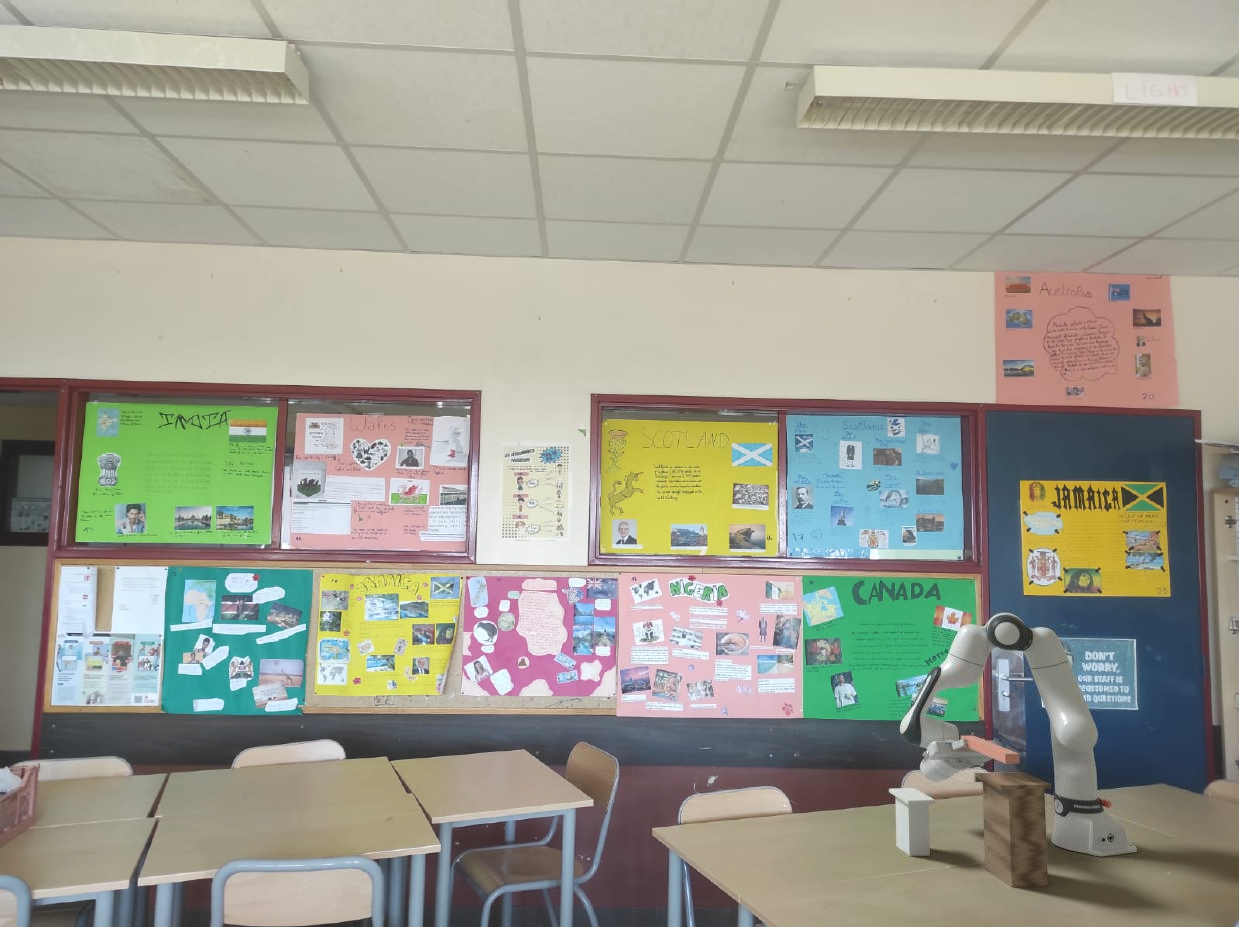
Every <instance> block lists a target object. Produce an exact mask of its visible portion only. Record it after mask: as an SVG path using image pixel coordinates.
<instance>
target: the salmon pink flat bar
mask: <svg viewBox="0 0 1239 927" xmlns="http://www.w3.org/2000/svg"><path fill="white" fill-rule="evenodd" d="M961 739H967V742H968V745H967V746H966V747H968V748H970V749H973V750H975V751H977V752H980V753H982V754H984V755H987V756H989V757H991V758H992V759H993V760H996V761H998V762H1000V763H1003V764H1005V765H1007V764H1009V765H1010V764H1011V765H1012V764H1021V762H1020V753H1018V752H1015V751H1014V750H1011V749H1009V748H1006V747H1003V746H1001V745H998V744H997V743H996V744H997V745H996V744H993V743H991V742H988V741H989V740H983V739H984V738H981V737H978V736H976V735H962V736H961Z"/></svg>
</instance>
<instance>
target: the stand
mask: <svg viewBox="0 0 1239 927" xmlns="http://www.w3.org/2000/svg"><path fill="white" fill-rule="evenodd" d="M888 793H890V795H893V796H895V797H894V798H895V845H896V846H895V847H897V848H899V849H900V850H901V851H902V852H904V854H906V855H908V856H909V857H918V856H926V857H927V856H930V855H931V854H930V853H931V850H930V817H929V816H930V810H929V809H930V808H929V806H930V805H936V799H934V798H932V797H931V796H929V795H927V794H925V793H924V792H922V791H920V790H919V789H917V788H916V787H911V788H908V787H906V788H904V787H903V788H902V787H901V788H900V787H899V788H888Z"/></svg>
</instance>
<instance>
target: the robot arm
mask: <svg viewBox="0 0 1239 927" xmlns="http://www.w3.org/2000/svg"><path fill="white" fill-rule="evenodd" d="M996 648H998V649H1001V650H1003V651H1004V650H1005V651H1010V652H1011V651H1014V652H1016V651H1017V652H1022V653H1023V654H1024V656H1025V657H1026V661H1027V663H1028V667H1029V669H1030V671H1031V674H1032V677H1033V679H1034V681H1035V686H1036V688H1037V690H1038V693H1039V696H1040V698H1041V701H1042V703H1043V705H1044V707H1045V711H1046V713H1047V716H1048V718H1049V723H1050V724H1049V725H1050V727H1049V728H1050V738H1051V739H1050V740H1051V747H1052V749H1051V750H1052V759H1053V771H1054V772H1053V773H1054V774H1053V775H1054V792H1053V807H1054V823H1053V830H1052V836H1051V839H1050V841H1051V843H1052V844H1054V845H1055V846H1057V847H1060V848H1062V849H1065V850H1069V851H1073V852H1077V853H1083V854H1088V855H1091V856H1095V857H1107V856H1115V855H1124V854H1129V853H1130V854H1131V853H1137V852H1138V848H1137V846H1136V845H1135V844H1134V843H1131V842H1130V841H1128V837H1127V836H1128V835H1127V833H1126V829H1125V827H1124V826H1123V825H1122V824H1121V823H1120V822H1119V821H1117V820H1116V819H1115V818H1113V817H1112V816H1111V815H1110V814H1109V813H1108V812H1106V811H1105V808H1107V809H1110V808H1111V807H1112V802H1111V801H1110V800H1107V799H1102V798H1100V797H1098V780H1097V779H1098V778H1097V776H1098V775H1097V767H1096V761H1095V753H1094V747H1095V745H1096V744H1097V741H1098V737H1099V733H1098V729H1097V725H1096V723H1095V721H1094V718H1093V717H1092V714H1091V711H1090V710H1089V709H1090V708H1089V707H1088V704H1087V701H1086V699H1085V697H1084V695H1083V692H1082V691H1081V689H1080V686H1079V683H1078V680H1077V678H1076V676H1075V673H1074V670H1073V667H1072V665H1071V663H1070V660H1069V657H1068V655H1067V652H1066V650H1065V648H1064V646H1063V644H1062V642H1061V641H1060V638H1059V637H1058V635H1057V633H1056V632H1055V631H1054V630H1052V629H1050V628H1048V627H1044V626H1039V627H1038V626H1037V627H1034V628H1032V627H1031V628H1030V627H1028V626H1027V625H1026V624H1025V622H1023V620H1022V619H1021V618H1020V617H1019V616H1017V615H1015V614H1014V613H1011V612H1005V611H1003V612H999V613H996V614H994V615H993V616H992V617H990V618H989V619H988V620H987V621H986V622H984V623H983V624H982V625H977V624H971V623H970V624H969V623H968V624H964V625H962V626H961V627H960V628H959V629H958V630H957V633H956V635H955V637H954V639H953V640H952V643H951V646H950V648H949V651H948V654H947V656H946V658H945V660H944V661H943V662H941V664H940V665H939V666H934V667H933V668H932V669H931V670H930V671H929V673H928V674H927V675H926V677H925V679H924V681H923V684H922V685H921V687H920V688H919V690H918V692H917V694H916V696H915V698H914V700H913V701H912V704H911V705H910V707H909V708H908V710H907V712H906V713H905V714H904V716H903V718H902V719H901V720H900V721H901V722H900V725H899V734H900V736H901V737H902V739H903V741H904V742H905V743H906V744H907V745H911V746H913V747H920V748H924V749H926V751H924V752H923V753H922V757H923V758H922V760H921V761H920V765H919V770H920V771H921V774H922V775H923V776H924V778H926V779H927V780H928V781H931V782H935V783H939V782H941V783H942V782H945V781H946V780H948V779H951V777H953V776H954V775H955V774H958V773H959V772H962V771H963V772H964V771H965V770H967V769H973V768H979V767H982V766H984V765H985V763H987V762H989V761H990V760H992V759H993V758H991V757H989V756H987V755H984V754H982V753H980V752H977V751H975V750H973V749H970V748H968V747H966V746H967V745H968V742H967V739H961V736H963V735H962V732H961V730H960V729H959V727H958V726H957V725H955V724H953V723H950V722H947V721H944V720H942V719H941V720H940V719H936V718H933V717H931V716H927V712H928V710H929V708H930V706H931V705H932V703H933V701H934V699H935V698H936V695H937V694H939V692H942V691H945V690H947V689H948V690H949V689H960V688H962V689H963V688H968V687H971V686H974V685H975V684H977V683H979V682H980V679H981V678H982V676H983V674H984V672H985V667H986V664H987V660H988V657H989V655H990V653H991V652H992V651H993V650H994V649H996ZM982 739H983V740H985V738H982ZM987 741H988V742H991V743H993V744H996V745H998V744H997V743H996V741H995V740H987ZM1104 807H1105V808H1104Z"/></svg>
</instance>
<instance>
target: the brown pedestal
mask: <svg viewBox="0 0 1239 927" xmlns="http://www.w3.org/2000/svg"><path fill="white" fill-rule="evenodd" d="M973 778H974V779H973V780H974V783H981V784H982V806H983V807H982V809H983V810H982V811H983V813H982V814H983V837H984V840H983V841H984V842H983V843H984V869H985V870H986V871H987V872H989V873H990V874H992V875H994V877H996V878H997V879H999V880H1001V881H1002V882H1004V883H1005V884H1007V885H1008V886H1010V887H1011V888H1017V887H1018V888H1019V887H1021V888H1022V887H1023V888H1024V887H1045V886H1047V887H1048V886H1049V870H1048V852H1047V851H1048V845H1047V824H1046V823H1047V822H1046V821H1047V820H1046V801H1045V800H1046V798H1045V796H1046V795H1045V789H1052V783H1049V782H1046V781H1045V780H1041V779H1040V778H1037V777H1035V776H1033V775H1031V774H1028V773H1025V772H1023V771H992V772H991V771H989V772H986V771H985V772H983V771H982V772H980V771H979V772H974V773H973Z"/></svg>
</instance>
